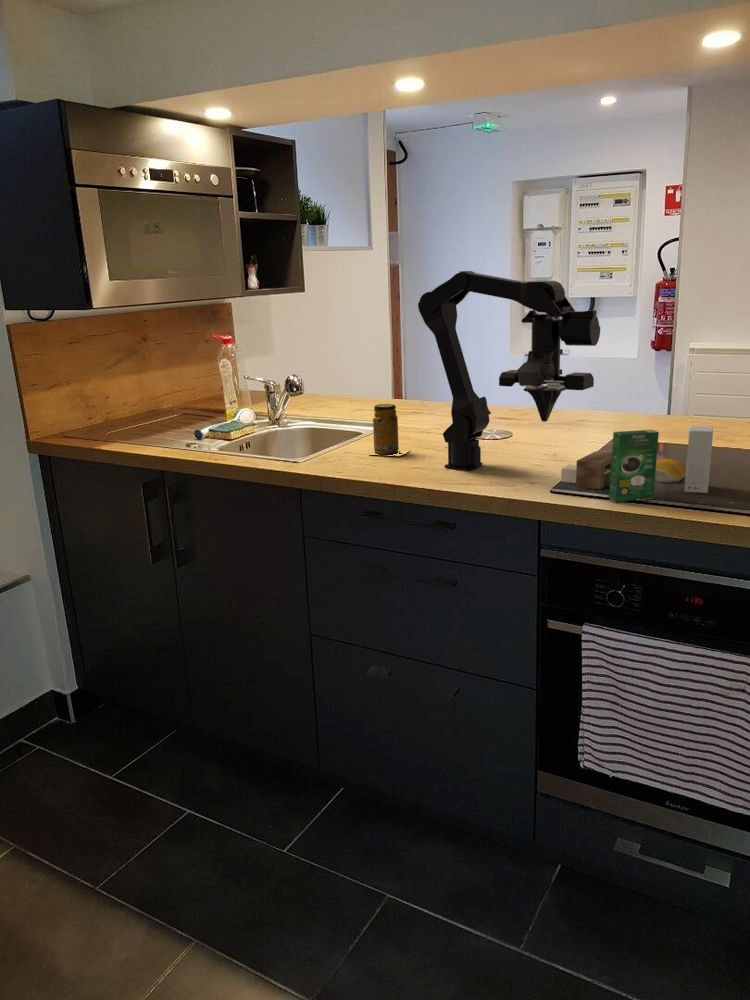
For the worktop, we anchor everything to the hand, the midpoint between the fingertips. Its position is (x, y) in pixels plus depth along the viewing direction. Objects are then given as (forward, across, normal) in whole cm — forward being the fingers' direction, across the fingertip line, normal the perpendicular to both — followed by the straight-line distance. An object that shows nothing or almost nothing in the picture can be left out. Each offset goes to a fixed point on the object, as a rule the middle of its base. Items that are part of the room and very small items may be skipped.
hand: (544, 421), depth 163 cm
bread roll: (+12, +22, +11) cm, 27 cm away
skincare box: (+12, +30, +5) cm, 33 cm away
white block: (+12, +10, 0) cm, 16 cm away
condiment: (+12, -42, +2) cm, 44 cm away
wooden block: (+12, +12, 0) cm, 17 cm away
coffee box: (+12, +22, -8) cm, 26 cm away
